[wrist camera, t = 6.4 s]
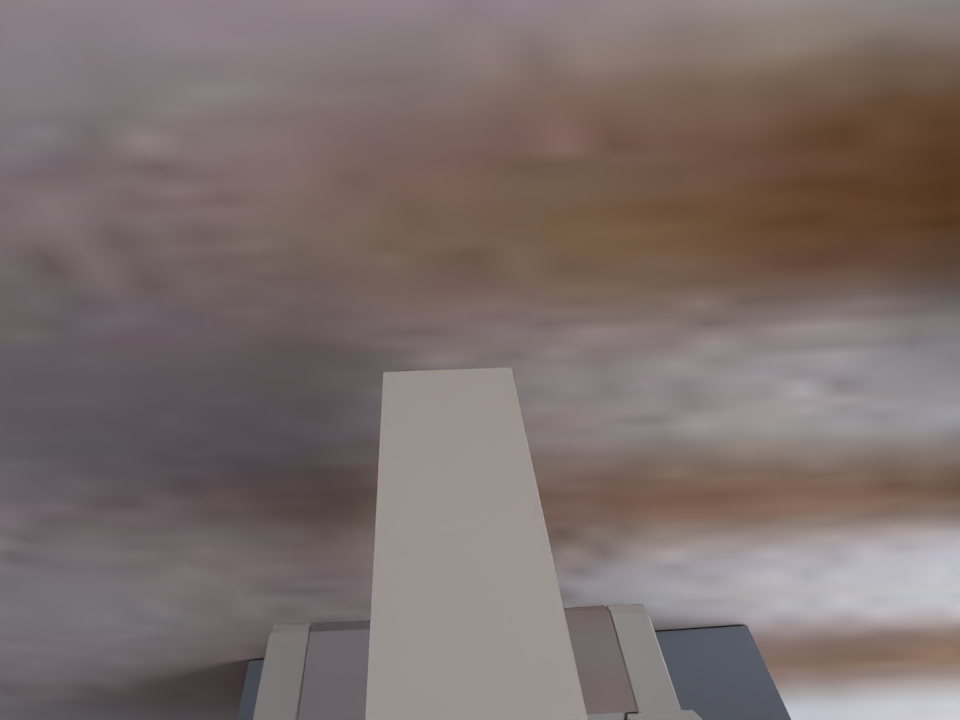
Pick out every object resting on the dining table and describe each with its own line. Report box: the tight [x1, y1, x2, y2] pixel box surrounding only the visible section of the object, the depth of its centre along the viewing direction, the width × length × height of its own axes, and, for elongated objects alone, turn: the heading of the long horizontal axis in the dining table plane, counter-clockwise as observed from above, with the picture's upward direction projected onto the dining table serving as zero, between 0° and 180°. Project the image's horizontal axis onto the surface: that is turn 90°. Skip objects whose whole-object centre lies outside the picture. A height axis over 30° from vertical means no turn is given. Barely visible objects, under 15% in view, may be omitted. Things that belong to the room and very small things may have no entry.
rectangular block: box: [365, 367, 587, 720], centre depth 11 cm, size 5×2×6 cm, turn 0°
